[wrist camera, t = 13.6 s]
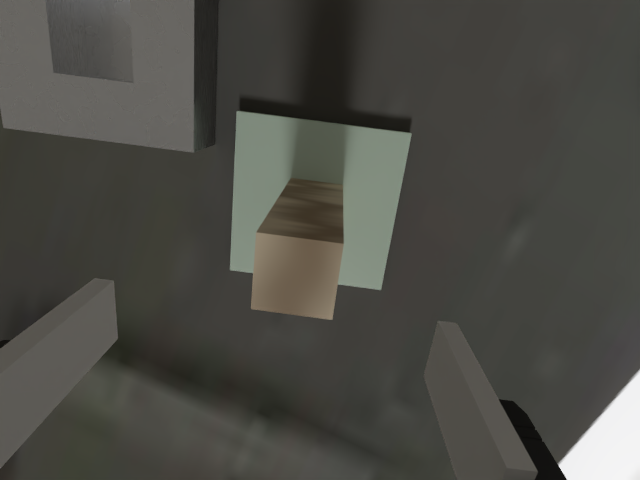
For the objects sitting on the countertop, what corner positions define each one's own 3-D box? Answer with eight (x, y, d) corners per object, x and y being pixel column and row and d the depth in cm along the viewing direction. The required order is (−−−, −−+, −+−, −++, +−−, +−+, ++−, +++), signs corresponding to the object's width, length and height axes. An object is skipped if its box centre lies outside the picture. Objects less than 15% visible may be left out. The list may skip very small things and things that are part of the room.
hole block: (51, 123, 33) (3, 127, 28) (28, -77, 28) (-35, -112, 23) (214, 144, 33) (193, 152, 28) (219, -53, 28) (194, -84, 23)
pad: (232, 265, 37) (229, 269, 36) (239, 110, 32) (236, 110, 31) (379, 285, 36) (380, 290, 36) (409, 132, 32) (411, 133, 31)
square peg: (286, 227, 34) (251, 308, 21) (290, 177, 32) (256, 232, 19) (335, 233, 34) (332, 319, 21) (343, 184, 32) (343, 243, 19)
